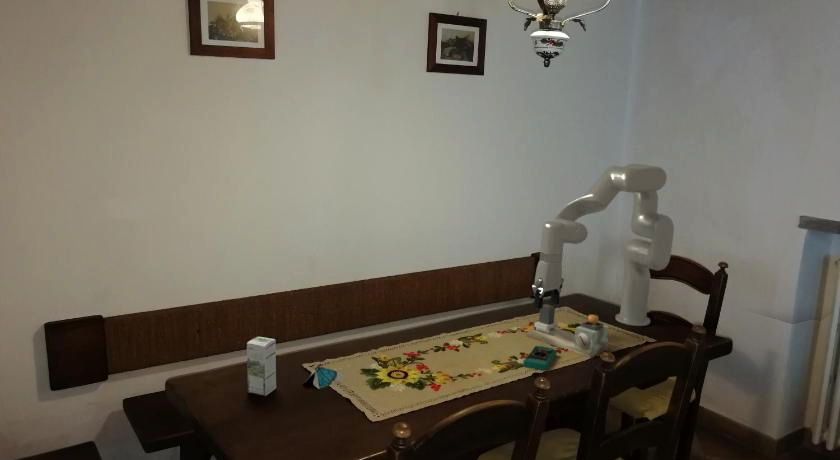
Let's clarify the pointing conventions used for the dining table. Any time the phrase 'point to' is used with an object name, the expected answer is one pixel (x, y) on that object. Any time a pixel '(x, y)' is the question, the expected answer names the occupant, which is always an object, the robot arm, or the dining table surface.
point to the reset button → (593, 319)
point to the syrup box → (261, 365)
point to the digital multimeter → (539, 358)
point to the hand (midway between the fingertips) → (546, 305)
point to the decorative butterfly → (325, 377)
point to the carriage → (546, 319)
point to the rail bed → (576, 338)
